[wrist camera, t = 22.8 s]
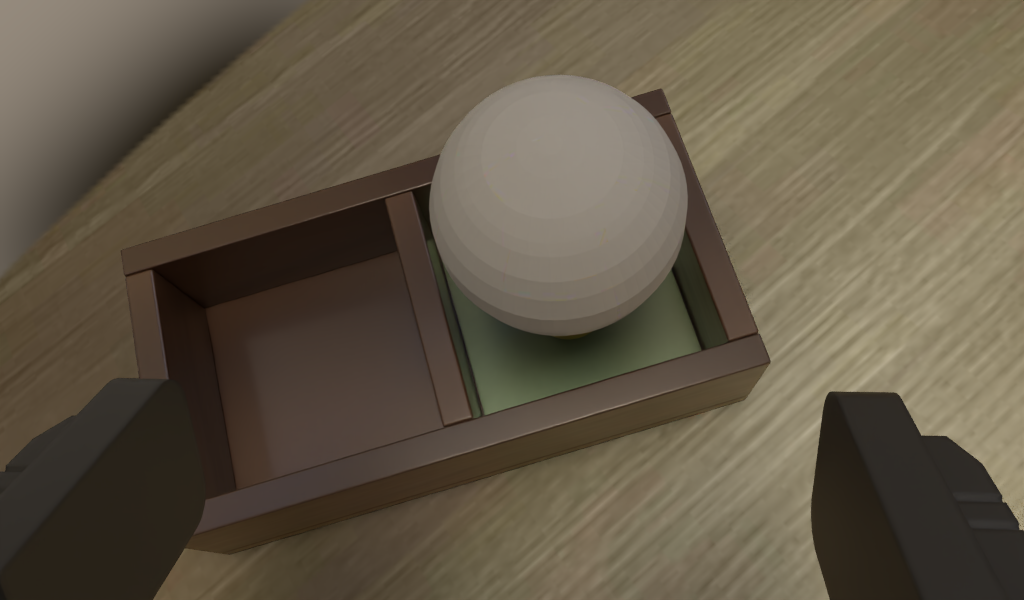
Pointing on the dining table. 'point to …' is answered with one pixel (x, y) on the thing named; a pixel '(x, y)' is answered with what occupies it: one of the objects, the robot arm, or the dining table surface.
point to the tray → (405, 355)
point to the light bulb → (558, 205)
